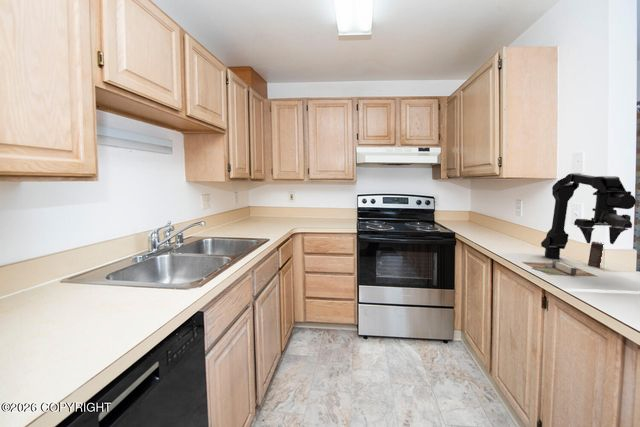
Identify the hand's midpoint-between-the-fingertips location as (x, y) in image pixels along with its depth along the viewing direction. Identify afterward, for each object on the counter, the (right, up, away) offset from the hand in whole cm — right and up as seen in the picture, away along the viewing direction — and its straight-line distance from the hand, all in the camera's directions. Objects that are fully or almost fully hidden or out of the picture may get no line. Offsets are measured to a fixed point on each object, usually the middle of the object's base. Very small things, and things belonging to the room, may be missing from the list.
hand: (600, 243), depth 130 cm
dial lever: (-11, -12, +6) cm, 17 cm away
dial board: (-11, -14, +10) cm, 20 cm away
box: (+12, -13, +16) cm, 24 cm away
